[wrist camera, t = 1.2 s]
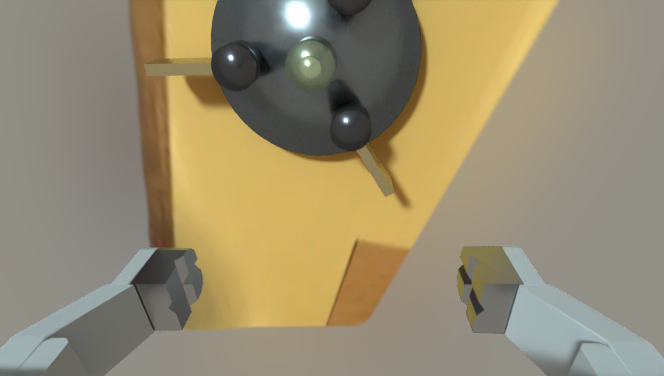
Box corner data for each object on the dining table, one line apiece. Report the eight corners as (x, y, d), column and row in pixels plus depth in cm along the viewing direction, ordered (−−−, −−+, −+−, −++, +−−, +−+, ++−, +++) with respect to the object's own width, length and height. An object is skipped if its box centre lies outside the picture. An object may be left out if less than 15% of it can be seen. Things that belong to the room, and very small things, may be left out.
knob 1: (260, 39, 37) (251, 44, 34) (265, 83, 39) (258, 91, 37) (154, 42, 38) (137, 47, 35) (166, 84, 40) (151, 92, 37)
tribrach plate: (353, -126, 32) (351, -149, 26) (450, 91, 41) (465, 109, 35) (175, 20, 39) (144, 26, 33) (292, 176, 48) (283, 202, 42)
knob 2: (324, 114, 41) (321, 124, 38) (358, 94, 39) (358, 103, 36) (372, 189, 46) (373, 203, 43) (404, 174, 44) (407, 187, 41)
